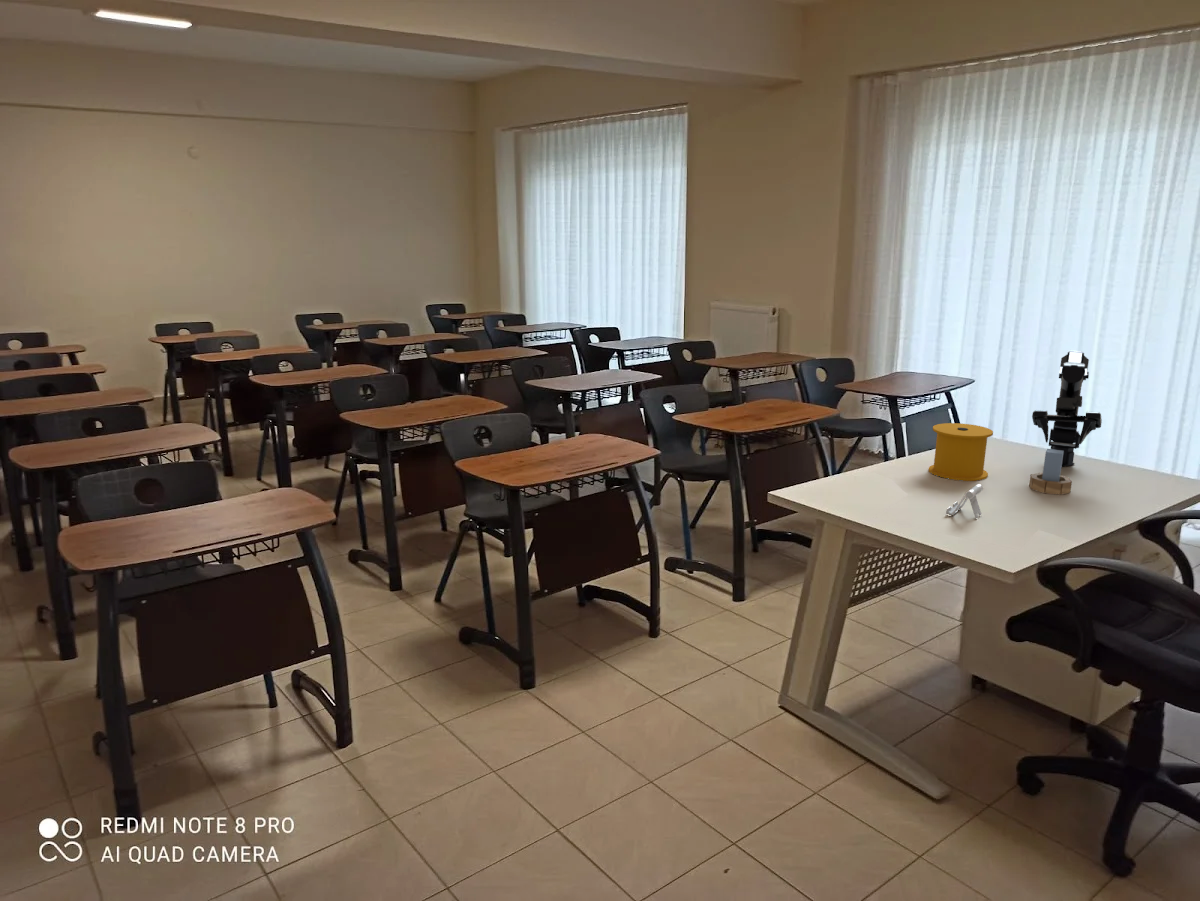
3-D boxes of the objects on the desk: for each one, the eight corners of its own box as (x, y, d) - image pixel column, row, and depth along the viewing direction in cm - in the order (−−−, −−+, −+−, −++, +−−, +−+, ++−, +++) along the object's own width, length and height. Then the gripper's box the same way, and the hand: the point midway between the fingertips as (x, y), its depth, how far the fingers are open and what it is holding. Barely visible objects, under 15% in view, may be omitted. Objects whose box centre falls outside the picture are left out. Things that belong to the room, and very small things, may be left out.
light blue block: (1042, 485, 263) (1047, 448, 259) (1058, 488, 260) (1063, 450, 257) (1040, 489, 259) (1045, 451, 256) (1057, 491, 257) (1062, 453, 253)
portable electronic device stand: (955, 508, 242) (958, 480, 240) (984, 514, 237) (987, 485, 235) (945, 516, 236) (948, 487, 234) (974, 522, 231) (978, 492, 229)
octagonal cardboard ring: (1022, 486, 262) (1023, 475, 261) (1045, 481, 267) (1046, 471, 266) (1054, 496, 253) (1055, 484, 252) (1077, 491, 257) (1078, 480, 256)
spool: (997, 481, 267) (1003, 435, 264) (940, 481, 268) (945, 435, 264) (974, 465, 285) (979, 422, 281) (920, 465, 285) (924, 422, 281)
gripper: (1033, 385, 266) (1026, 428, 261) (1101, 386, 256) (1096, 431, 250) (1037, 403, 275) (1030, 445, 269) (1103, 405, 264) (1098, 449, 258)
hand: (1063, 442), depth 262 cm, fingers open, 9 cm apart
